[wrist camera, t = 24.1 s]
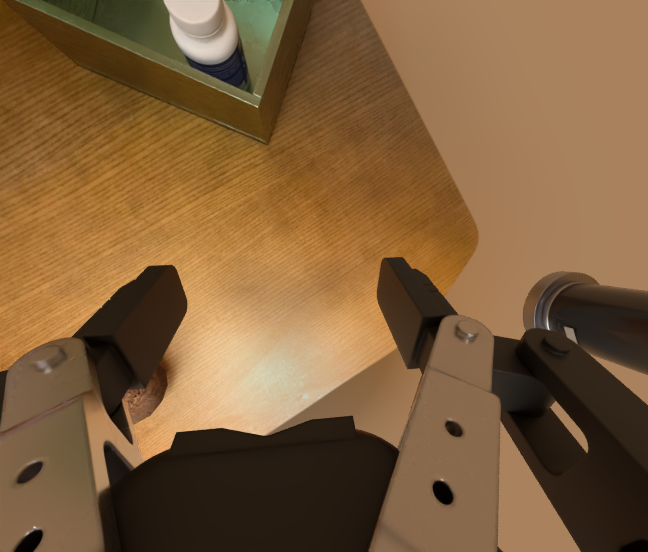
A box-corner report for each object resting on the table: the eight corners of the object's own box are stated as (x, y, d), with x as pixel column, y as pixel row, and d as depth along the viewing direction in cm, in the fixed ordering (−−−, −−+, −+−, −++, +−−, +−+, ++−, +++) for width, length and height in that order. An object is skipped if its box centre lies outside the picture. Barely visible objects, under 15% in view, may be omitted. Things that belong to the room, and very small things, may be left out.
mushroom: (89, 444, 26) (68, 453, 22) (76, 369, 28) (54, 362, 23) (175, 406, 31) (174, 406, 26) (159, 344, 33) (156, 333, 28)
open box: (310, 15, 28) (318, -75, 20) (267, 145, 29) (258, 107, 21) (120, -84, 24) (42, -235, 17) (78, 65, 25) (-14, -13, 18)
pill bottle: (260, 85, 27) (245, 8, 18) (219, 113, 27) (185, 49, 18) (228, 38, 26) (196, -67, 17) (186, 66, 26) (132, -25, 17)
